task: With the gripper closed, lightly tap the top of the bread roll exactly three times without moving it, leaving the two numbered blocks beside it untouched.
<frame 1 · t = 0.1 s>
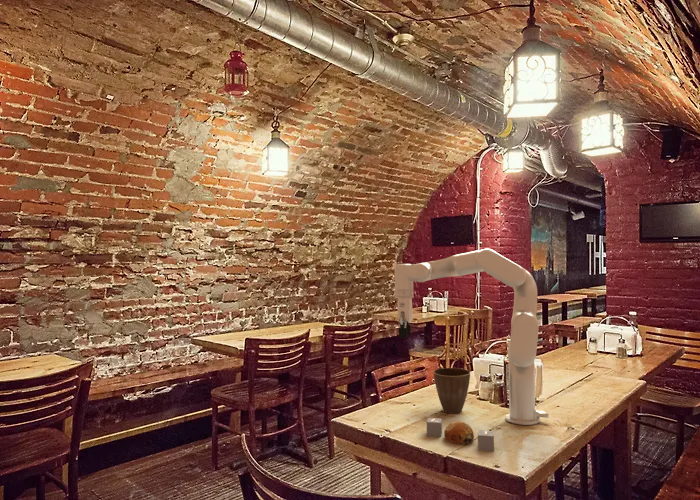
hand: (404, 336, 215), 31 cm above the table, fingers open, 9 cm apart
numbered block 7: (434, 434, 189), on the table
plant pot: (452, 411, 217), on the table
numbered block 1: (486, 448, 175), on the table
bread roll: (459, 440, 183), on the table
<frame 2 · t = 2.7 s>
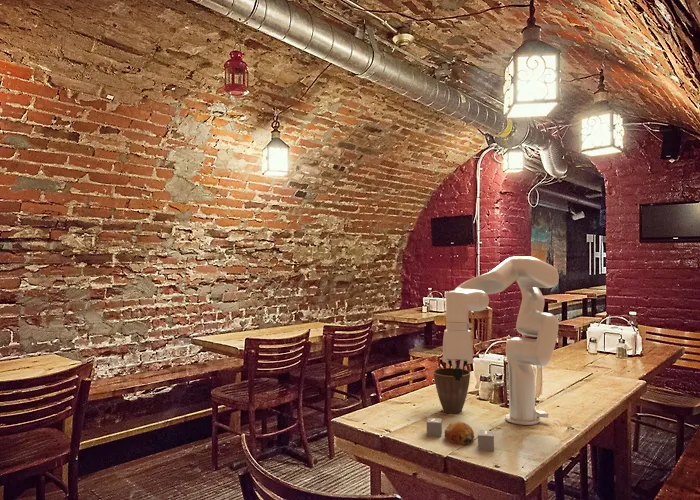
hand: (458, 379, 183), 21 cm above the table, fingers closed
nothing on the table moved.
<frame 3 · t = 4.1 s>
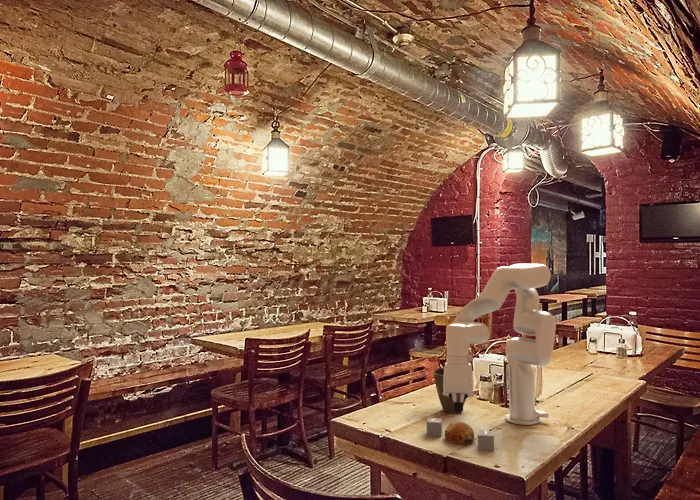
hand: (458, 412, 183), 9 cm above the table, fingers closed
nothing on the table moved.
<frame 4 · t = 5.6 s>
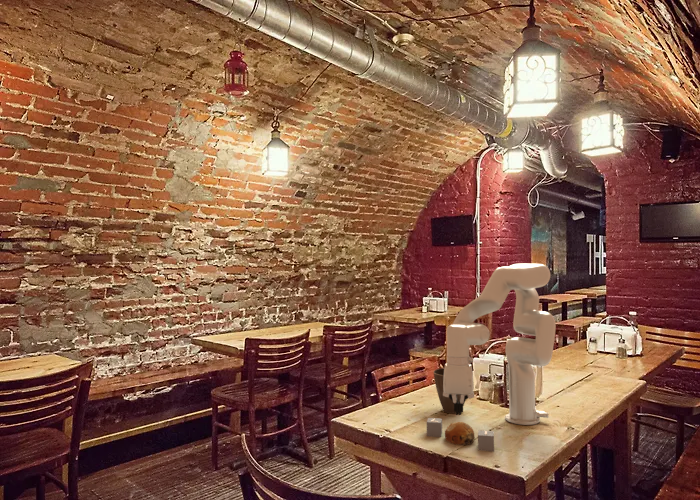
hand: (458, 413, 183), 9 cm above the table, fingers closed
nothing on the table moved.
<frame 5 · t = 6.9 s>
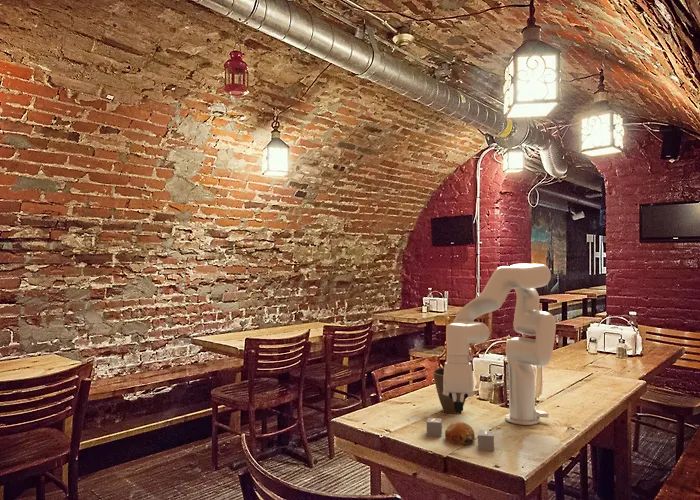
hand: (458, 412, 183), 9 cm above the table, fingers closed
nothing on the table moved.
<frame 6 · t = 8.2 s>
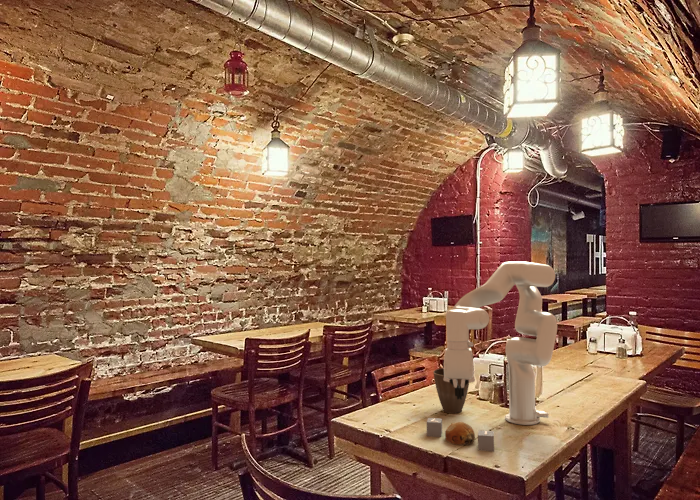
hand: (459, 398, 183), 14 cm above the table, fingers closed
nothing on the table moved.
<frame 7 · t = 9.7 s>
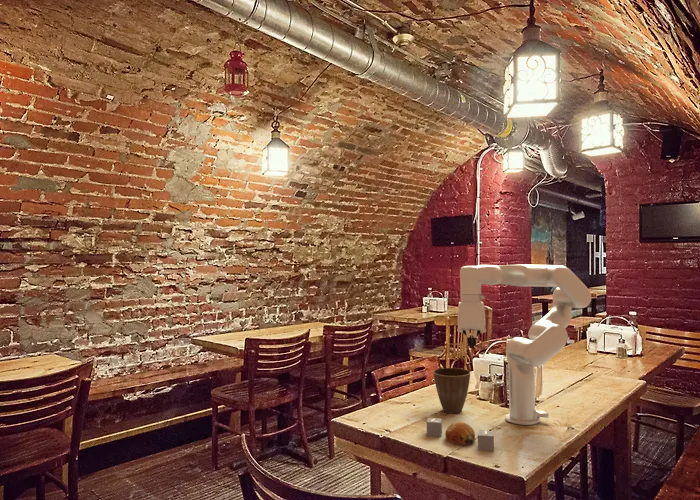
hand: (472, 347, 198), 29 cm above the table, fingers closed
nothing on the table moved.
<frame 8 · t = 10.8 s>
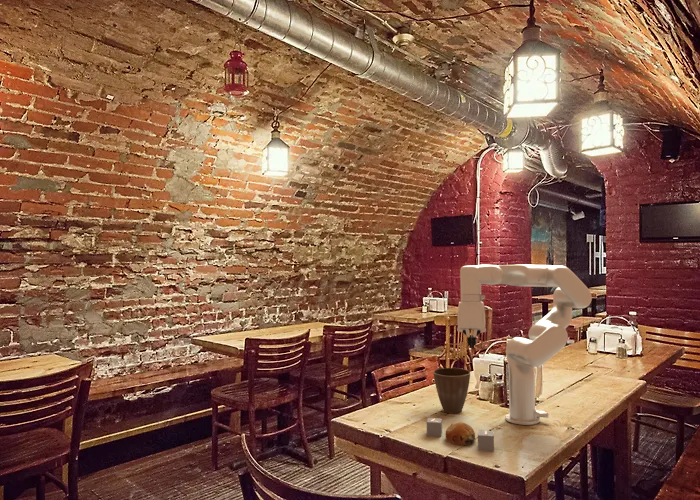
hand: (471, 347, 199), 29 cm above the table, fingers closed
nothing on the table moved.
at the end: bread roll moved 1.0 cm from its start; numbered block 1 moved 0.1 cm from its start; numbered block 7 moved 0.1 cm from its start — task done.
